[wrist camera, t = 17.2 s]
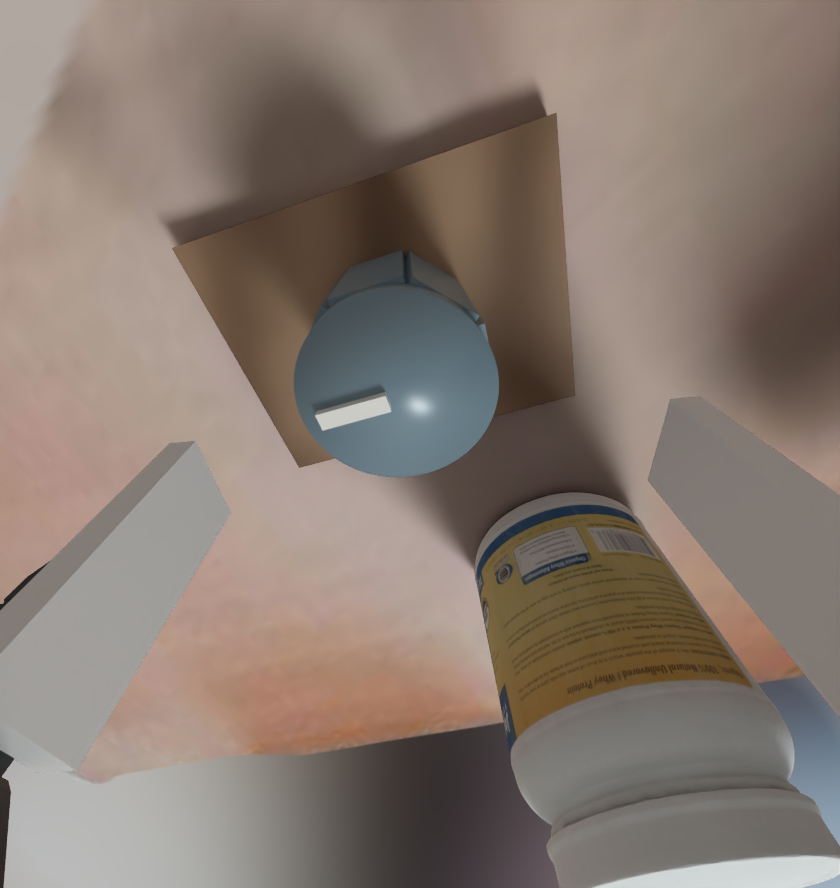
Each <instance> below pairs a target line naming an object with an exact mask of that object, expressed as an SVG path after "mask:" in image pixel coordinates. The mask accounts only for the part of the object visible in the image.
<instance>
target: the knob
mask: <svg viewBox="0 0 840 888" xmlns="http://www.w3.org/2000/svg"><path fill="white" fill-rule="evenodd" d="M294 394H295V401H296V404H297V408H298V411H299V414H300V416H301V418H302V420H303V423H304V424H305V426H306V428H307V429H308V431H309V433H310V434H311V435H312V437H313V438H314V439H315V440H316V442H317V443H318V444H319V445H320V446H321V447H322V448H323V449H324V450H325V451H327V452H328V453H329V454H330V455H332V456H333V457H334V458H336V459H337V460H339V461H341V462H342V463H344V464H346V465H348V466H350V467H352V468H354V469H357V470H360V471H363V472H366V473H369V474H374V475H378V476H386V477H410V476H417V475H422V474H426V473H430V472H433V471H436V470H438V469H441V468H443V467H445V466H447V465H449V464H451V463H453V462H454V461H456V460H458V459H459V458H460V457H462V456H463V455H464V454H466V453H467V452H468V451H469V450H470V449H471V448H472V447H473V446H474V445H475V444H476V443H477V442H478V441H479V439H480V438H481V437H482V436H483V434H484V433H485V431H486V429H487V428H488V426H489V424H490V422H491V420H492V418H493V415H494V412H495V409H496V406H497V400H498V395H499V377H498V369H497V365H496V361H495V357H494V355H493V353H492V350H491V348H490V346H489V342H488V337H487V332H486V327H485V323H484V321H483V320H482V318H481V317H480V315H479V313H478V312H477V310H476V309H475V307H474V305H473V304H472V302H471V301H470V299H469V297H468V296H467V294H466V293H465V291H464V289H463V288H462V286H461V285H460V284H459V282H458V280H457V279H455V278H454V277H452V276H450V275H449V274H447V273H445V272H444V271H442V270H440V269H439V268H437V267H436V266H434V265H432V264H431V263H429V262H427V261H426V260H424V259H422V258H421V257H419V256H417V255H416V254H414V253H412V252H411V251H409V253H408V255H407V257H406V259H405V257H404V254H403V250H400V251H397V252H394V253H391V254H388V255H385V256H382V257H379V258H376V259H373V260H370V261H366V262H363V263H360V264H357V265H354V266H351V267H349V269H348V270H347V272H344V273H343V275H342V276H341V277H340V279H339V280H338V282H337V283H336V284H335V286H334V287H333V289H332V290H331V291H330V293H329V294H328V296H327V297H326V298H325V300H324V301H323V303H322V304H321V306H320V308H319V310H318V313H317V315H316V318H315V320H314V323H313V325H312V328H311V330H310V332H309V334H308V336H307V337H306V339H305V341H304V343H303V345H302V347H301V349H300V351H299V354H298V357H297V361H296V364H295V370H294Z"/></svg>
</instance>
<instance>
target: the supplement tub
mask: <svg viewBox="0 0 840 888" xmlns="http://www.w3.org/2000/svg"><path fill="white" fill-rule="evenodd" d="M475 580H476V583H477V587H478V592H479V597H480V602H481V607H482V612H483V617H484V623H485V628H486V633H487V638H488V643H489V648H490V653H491V658H492V663H493V668H494V673H495V679H496V684H497V689H498V694H499V699H500V704H501V710H502V715H503V720H504V725H505V730H506V735H507V741H508V746H509V751H510V756H511V765H512V768H513V771H514V775H515V778H516V781H517V784H518V787H519V789H520V791H521V793H522V795H523V797H524V799H525V800H526V802H527V803H528V804H529V806H530V807H531V808H532V809H533V810H534V811H535V813H536V814H537V815H538V816H540V817H541V818H542V819H543V820H545V821H546V822H547V823H549V824H551V825H552V830H551V838H550V840H549V842H548V844H547V851H548V854H549V857H550V859H551V860H552V862H553V864H554V866H555V870H556V874H557V878H558V882H559V886H560V888H803V887H806V886H810V885H814V884H817V883H820V882H823V881H825V880H828V879H831V878H833V877H836V876H837V875H840V846H839V844H838V843H837V841H836V840H835V838H834V837H833V835H832V834H831V832H830V831H829V829H828V828H827V826H826V824H825V823H824V821H823V820H822V818H821V812H820V809H819V808H818V806H817V805H816V803H815V801H813V799H811V798H810V797H808V796H806V795H804V794H801V793H800V792H799V790H798V789H797V788H796V787H794V786H793V785H791V784H790V783H789V782H788V780H789V778H790V776H791V773H792V770H793V767H794V746H793V742H792V738H791V735H790V733H789V730H788V728H787V726H786V724H785V722H784V720H783V719H782V717H781V716H780V714H779V712H778V710H777V709H776V707H775V706H774V704H773V703H772V702H771V701H770V700H769V699H768V698H767V696H766V695H765V694H764V692H763V691H762V689H761V688H760V687H759V685H758V684H757V682H756V681H755V680H754V678H753V677H752V676H751V674H750V673H749V671H748V670H747V669H746V667H745V666H744V665H743V663H742V662H741V660H740V659H739V658H738V656H737V655H736V653H735V652H734V651H733V649H732V648H731V647H730V645H729V644H728V642H727V641H726V640H725V638H724V637H723V636H722V634H721V633H720V631H719V630H718V629H717V627H716V626H715V625H714V623H713V622H712V620H711V619H710V618H709V616H708V615H707V613H706V612H705V611H704V609H703V608H702V607H701V605H700V604H699V602H698V601H697V600H696V598H695V597H694V596H693V594H692V593H691V591H690V590H689V589H688V587H687V586H686V584H685V583H684V582H683V580H682V579H681V578H680V576H679V575H678V573H677V572H676V571H675V569H674V568H673V566H672V565H671V564H670V562H669V561H668V559H667V558H666V557H665V555H664V554H663V553H662V551H661V550H660V548H659V547H658V546H657V544H656V543H655V542H654V540H653V539H652V537H651V536H650V535H649V533H648V532H647V531H646V529H645V527H644V525H643V524H642V522H641V521H640V520H639V519H638V518H637V517H636V516H635V515H634V514H633V512H632V511H631V510H630V509H628V508H627V507H626V506H624V505H623V504H621V503H619V502H617V501H615V500H613V499H610V498H607V497H604V496H601V495H596V494H591V493H579V492H572V493H560V494H554V495H549V496H545V497H541V498H538V499H535V500H532V501H530V502H527V503H525V504H523V505H521V506H519V507H517V508H515V509H514V510H512V511H510V512H509V513H507V514H506V515H504V516H503V517H502V518H500V519H499V520H498V521H497V522H496V523H495V524H494V525H493V526H492V527H491V528H490V530H489V531H488V532H487V533H486V535H485V537H484V538H483V540H482V542H481V544H480V546H479V549H478V551H477V555H476V561H475Z"/></svg>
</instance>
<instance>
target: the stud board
mask: <svg viewBox="0 0 840 888" xmlns="http://www.w3.org/2000/svg"><path fill="white" fill-rule="evenodd" d="M172 249H173V251H174V253H175V254H176V256H177V258H178V260H179V261H180V263H181V265H182V266H183V268H184V270H185V272H186V273H187V275H188V277H189V278H190V280H191V282H192V284H193V285H194V287H195V289H196V291H197V292H198V294H199V296H200V297H201V299H202V301H203V303H204V304H205V306H206V308H207V310H208V311H209V313H210V315H211V316H212V318H213V320H214V322H215V323H216V325H217V327H218V328H219V330H220V332H221V334H222V335H223V337H224V339H225V341H226V342H227V344H228V346H229V347H230V349H231V351H232V353H233V354H234V356H235V358H236V359H237V361H238V363H239V365H240V366H241V368H242V370H243V372H244V373H245V375H246V377H247V378H248V380H249V382H250V384H251V385H252V387H253V389H254V390H255V392H256V394H257V396H258V397H259V399H260V401H261V403H262V404H263V406H264V408H265V409H266V411H267V413H268V415H269V416H270V418H271V420H272V422H273V423H274V425H275V427H276V428H277V430H278V432H279V434H280V435H281V437H282V439H283V440H284V442H285V444H286V446H287V447H288V449H289V451H290V453H291V454H292V456H293V458H294V459H295V461H296V463H297V465H298V466H299V468H300V467H304V466H308V465H312V464H315V463H319V462H323V461H327V460H331V459H334V457H333V456H332V455H330V454H329V453H328V452H327V451H325V450H324V449H323V448H322V447H321V446H320V445H319V444H318V443H317V442H316V440H315V439H314V438H313V437H312V435H311V434H310V433H309V431H308V429H307V428H306V426H305V424H304V423H303V420H302V418H301V416H300V414H299V411H298V408H297V404H296V401H295V394H294V370H295V364H296V361H297V357H298V354H299V351H300V349H301V347H302V345H303V343H304V341H305V339H306V337H307V336H308V334H309V332H310V330H311V328H312V325H313V323H314V320H315V318H316V315H317V313H318V310H319V308H320V306H321V304H322V303H323V301H324V300H325V298H326V297H327V296H328V294H329V293H330V291H331V290H332V289H333V287H334V286H335V284H336V283H337V282H338V280H339V279H340V277H341V276H342V275H343V273H344V272H347V270H348V269H349V267H351V266H354V265H357V264H360V263H363V262H366V261H370V260H373V259H376V258H379V257H382V256H385V255H388V254H391V253H394V252H397V251H400V250H403V254H404V257H405V259H406V257H407V255H408V253H409V251H411V252H412V253H414V254H416V255H417V256H419V257H421V258H422V259H424V260H426V261H427V262H429V263H431V264H432V265H434V266H436V267H437V268H439V269H440V270H442V271H444V272H445V273H447V274H449V275H450V276H452V277H454V278H455V279H457V280H458V282H459V284H460V285H461V286H462V288H463V289H464V291H465V293H466V294H467V296H468V297H469V299H470V301H471V302H472V304H473V305H474V307H475V309H476V310H477V312H478V313H479V315H480V317H481V318H482V320H483V321H484V323H485V327H486V332H487V337H488V342H489V346H490V348H491V350H492V353H493V355H494V357H495V361H496V365H497V369H498V377H499V395H498V400H497V406H496V409H495V412H494V415H493V417H494V416H498V415H502V414H506V413H509V412H513V411H517V410H521V409H525V408H528V407H532V406H536V405H540V404H544V403H547V402H551V401H555V400H559V399H563V398H567V397H570V396H574V395H575V387H574V372H573V356H572V341H571V326H570V311H569V296H568V281H567V266H566V251H565V236H564V221H563V206H562V191H561V175H560V160H559V145H558V130H557V115H556V113H554V114H552V115H549V116H546V117H543V118H540V119H537V120H535V121H532V122H529V123H526V124H523V125H520V126H518V127H515V128H512V129H509V130H506V131H503V132H500V133H498V134H495V135H492V136H489V137H486V138H483V139H481V140H478V141H475V142H472V143H469V144H466V145H464V146H461V147H458V148H455V149H452V150H449V151H447V152H444V153H441V154H438V155H435V156H432V157H429V158H427V159H424V160H421V161H418V162H415V163H412V164H410V165H407V166H404V167H401V168H398V169H395V170H393V171H390V172H387V173H384V174H381V175H378V176H376V177H373V178H370V179H367V180H364V181H361V182H358V183H356V184H353V185H350V186H347V187H344V188H341V189H339V190H336V191H333V192H330V193H327V194H324V195H322V196H319V197H316V198H313V199H310V200H307V201H304V202H302V203H299V204H296V205H293V206H290V207H287V208H285V209H282V210H279V211H276V212H273V213H270V214H268V215H265V216H262V217H259V218H256V219H253V220H251V221H248V222H245V223H242V224H239V225H236V226H233V227H231V228H228V229H225V230H222V231H219V232H216V233H214V234H211V235H208V236H205V237H202V238H199V239H197V240H194V241H191V242H188V243H185V244H182V245H180V246H177V247H174V248H172Z"/></svg>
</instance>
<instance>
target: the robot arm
mask: <svg viewBox="0 0 840 888" xmlns="http://www.w3.org/2000/svg"><path fill="white" fill-rule="evenodd" d="M648 481H649V483H650V484H651V485H652V486H653V488H654V489H655V490H656V491H657V493H658V494H659V495H660V496H661V497H662V499H663V500H664V501H665V502H666V504H667V505H668V506H669V507H670V509H671V510H672V511H673V512H674V514H675V515H676V516H677V517H678V518H679V520H680V521H681V522H682V523H683V525H684V526H685V527H686V528H687V530H688V531H689V532H690V533H691V535H692V536H693V537H694V538H695V539H696V541H697V542H698V543H699V544H700V546H701V547H702V548H703V549H704V551H705V552H706V553H707V554H708V556H709V557H710V558H711V559H712V560H713V562H714V563H715V564H716V565H717V567H718V568H719V569H720V570H721V572H722V573H723V574H724V575H725V577H726V578H727V579H728V580H729V581H730V583H731V584H732V585H733V586H734V588H735V589H736V590H737V591H738V593H739V594H740V595H741V596H742V598H743V599H744V600H745V601H746V602H747V604H748V605H749V606H750V607H751V609H752V610H753V611H754V612H755V614H756V615H757V616H758V617H759V619H760V620H761V621H762V622H763V623H764V625H765V626H766V627H767V628H768V630H769V631H770V632H771V633H772V635H773V636H774V637H775V638H776V640H777V641H778V642H779V643H780V644H781V646H782V647H783V648H784V649H785V651H786V652H787V653H788V654H789V656H790V657H791V658H792V659H793V661H794V662H795V663H796V664H797V665H798V667H799V668H800V669H801V670H802V672H803V673H804V674H805V675H806V677H807V678H808V679H809V680H810V681H811V683H812V684H813V685H814V686H815V688H816V689H817V690H818V691H819V692H820V694H821V695H822V696H823V698H824V699H825V700H826V701H827V702H828V704H829V705H830V706H831V707H832V709H833V710H834V711H835V712H836V714H837V715H838V716H839V717H840V495H839V494H837V493H836V492H834V491H833V490H831V489H830V488H829V487H827V486H826V485H824V484H823V483H822V482H820V481H819V480H817V479H816V478H815V477H813V476H812V475H810V474H809V473H807V472H806V471H805V470H803V469H802V468H800V467H799V466H798V465H796V464H795V463H793V462H792V461H790V460H789V459H788V458H786V457H785V456H783V455H782V454H781V453H779V452H778V451H776V450H775V449H774V448H772V447H771V446H769V445H768V444H766V443H765V442H764V441H762V440H761V439H759V438H758V437H757V436H755V435H754V434H752V433H751V432H749V431H748V430H747V429H745V428H744V427H742V426H741V425H740V424H738V423H737V422H735V421H734V420H732V419H731V418H730V417H728V416H727V415H725V414H724V413H723V412H721V411H720V410H718V409H717V408H716V407H714V406H713V405H711V404H710V403H708V402H707V401H706V400H704V399H703V398H701V397H688V398H677V399H670V402H669V406H668V409H667V413H666V416H665V420H664V423H663V427H662V431H661V434H660V438H659V441H658V445H657V449H656V452H655V456H654V459H653V463H652V467H651V470H650V474H649V477H648ZM230 514H231V512H230V510H229V508H228V506H227V504H226V502H225V500H224V498H223V496H222V494H221V492H220V490H219V488H218V485H217V483H216V481H215V479H214V477H213V475H212V473H211V471H210V469H209V467H208V465H207V463H206V461H205V459H204V457H203V455H202V453H201V451H200V449H199V447H198V445H197V443H196V441H190V442H178V443H170V444H169V445H168V446H166V447H165V448H164V449H163V450H162V451H161V452H160V453H159V454H158V455H157V456H156V457H155V458H154V459H153V460H152V461H151V462H150V463H149V464H148V465H147V466H146V467H145V468H144V469H143V470H142V471H141V472H140V473H139V474H138V475H137V476H136V477H135V478H134V479H133V480H132V481H131V482H130V483H129V484H128V485H127V486H126V487H125V488H124V489H123V490H122V491H121V492H120V493H119V494H118V495H117V496H116V497H115V498H114V499H113V500H112V501H111V502H110V503H109V504H108V505H107V506H106V507H105V508H104V509H103V510H102V511H101V512H100V513H99V514H98V515H97V516H96V517H95V518H94V519H92V520H91V521H90V522H89V523H88V524H87V525H86V526H85V527H84V528H83V529H82V530H81V531H80V532H79V533H78V534H77V535H76V536H75V537H74V538H73V539H72V540H71V541H70V542H69V543H68V544H67V545H66V546H65V547H64V548H63V549H62V550H61V551H60V552H59V553H58V554H57V555H56V556H55V557H54V558H53V559H52V560H51V561H50V562H48V563H47V564H45V565H44V566H42V567H41V568H39V569H38V570H37V571H35V572H34V573H32V574H31V575H29V576H28V577H27V578H26V579H25V580H24V581H23V582H22V583H21V584H20V585H18V586H17V587H16V588H15V589H14V590H13V591H12V592H11V593H10V594H9V595H8V596H7V597H6V598H5V599H4V603H3V604H0V888H3V885H4V871H5V859H6V846H7V833H8V820H9V807H10V794H11V791H10V787H9V782H8V781H7V780H6V779H4V778H2V775H3V774H4V772H5V771H6V770H7V768H8V767H9V766H10V764H11V763H12V761H13V760H15V761H17V762H19V763H20V764H22V765H24V766H26V767H27V768H29V769H31V770H33V771H34V772H36V773H45V772H69V771H77V770H78V769H79V767H80V765H81V764H82V762H83V760H84V759H85V757H86V755H87V754H88V752H89V750H90V748H91V747H92V745H93V743H94V742H95V740H96V738H97V737H98V735H99V733H100V732H101V730H102V728H103V727H104V725H105V723H106V722H107V720H108V718H109V717H110V715H111V713H112V712H113V710H114V708H115V707H116V705H117V703H118V701H119V700H120V698H121V696H122V695H123V693H124V691H125V690H126V688H127V686H128V685H129V683H130V681H131V680H132V678H133V676H134V675H135V673H136V671H137V670H138V668H139V666H140V665H141V663H142V661H143V660H144V658H145V656H146V654H147V653H148V651H149V649H150V648H151V646H152V644H153V643H154V641H155V639H156V638H157V636H158V634H159V633H160V631H161V629H162V628H163V626H164V624H165V623H166V621H167V619H168V618H169V616H170V614H171V613H172V611H173V609H174V608H175V606H176V604H177V602H178V601H179V599H180V597H181V596H182V594H183V592H184V591H185V589H186V587H187V586H188V584H189V582H190V581H191V579H192V577H193V576H194V574H195V572H196V571H197V569H198V567H199V566H200V564H201V562H202V561H203V559H204V557H205V555H206V554H207V552H208V550H209V549H210V547H211V545H212V544H213V542H214V540H215V539H216V537H217V535H218V534H219V532H220V530H221V529H222V527H223V525H224V524H225V522H226V520H227V519H228V517H229V515H230Z"/></svg>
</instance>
